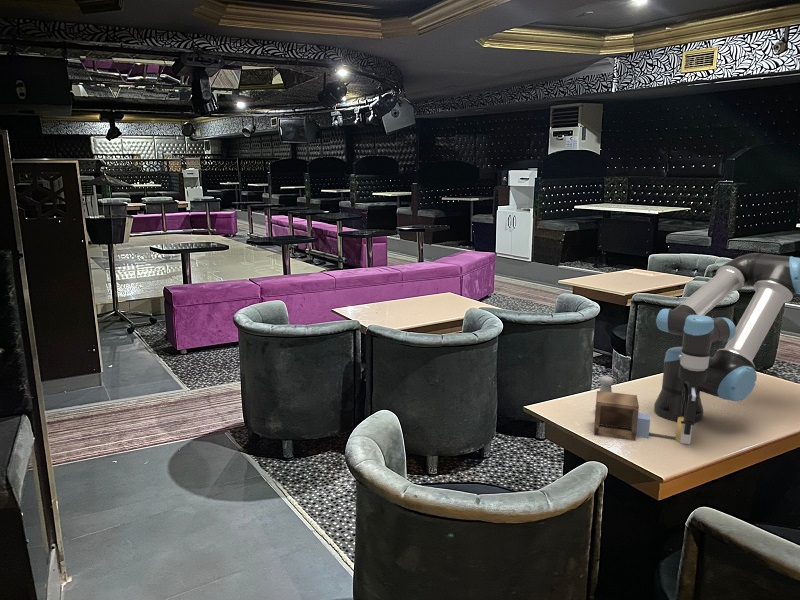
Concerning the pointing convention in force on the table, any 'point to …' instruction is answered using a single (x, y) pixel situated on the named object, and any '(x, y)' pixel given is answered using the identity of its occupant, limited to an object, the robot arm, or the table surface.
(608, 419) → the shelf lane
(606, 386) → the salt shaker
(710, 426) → the table surface
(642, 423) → the tethered block
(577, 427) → the table surface
